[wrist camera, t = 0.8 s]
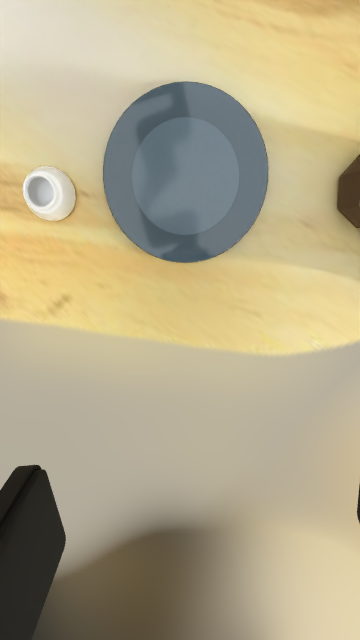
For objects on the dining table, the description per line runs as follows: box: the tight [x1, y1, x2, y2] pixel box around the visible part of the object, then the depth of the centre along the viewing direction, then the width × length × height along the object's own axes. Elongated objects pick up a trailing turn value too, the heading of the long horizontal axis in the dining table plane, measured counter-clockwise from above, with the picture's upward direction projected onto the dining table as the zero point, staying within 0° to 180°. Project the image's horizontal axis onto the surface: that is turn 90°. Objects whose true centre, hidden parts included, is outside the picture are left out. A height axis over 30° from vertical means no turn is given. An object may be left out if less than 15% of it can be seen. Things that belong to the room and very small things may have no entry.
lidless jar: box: [23, 166, 76, 221], centre depth 29 cm, size 5×3×5 cm
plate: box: [103, 82, 268, 263], centre depth 30 cm, size 16×16×1 cm
